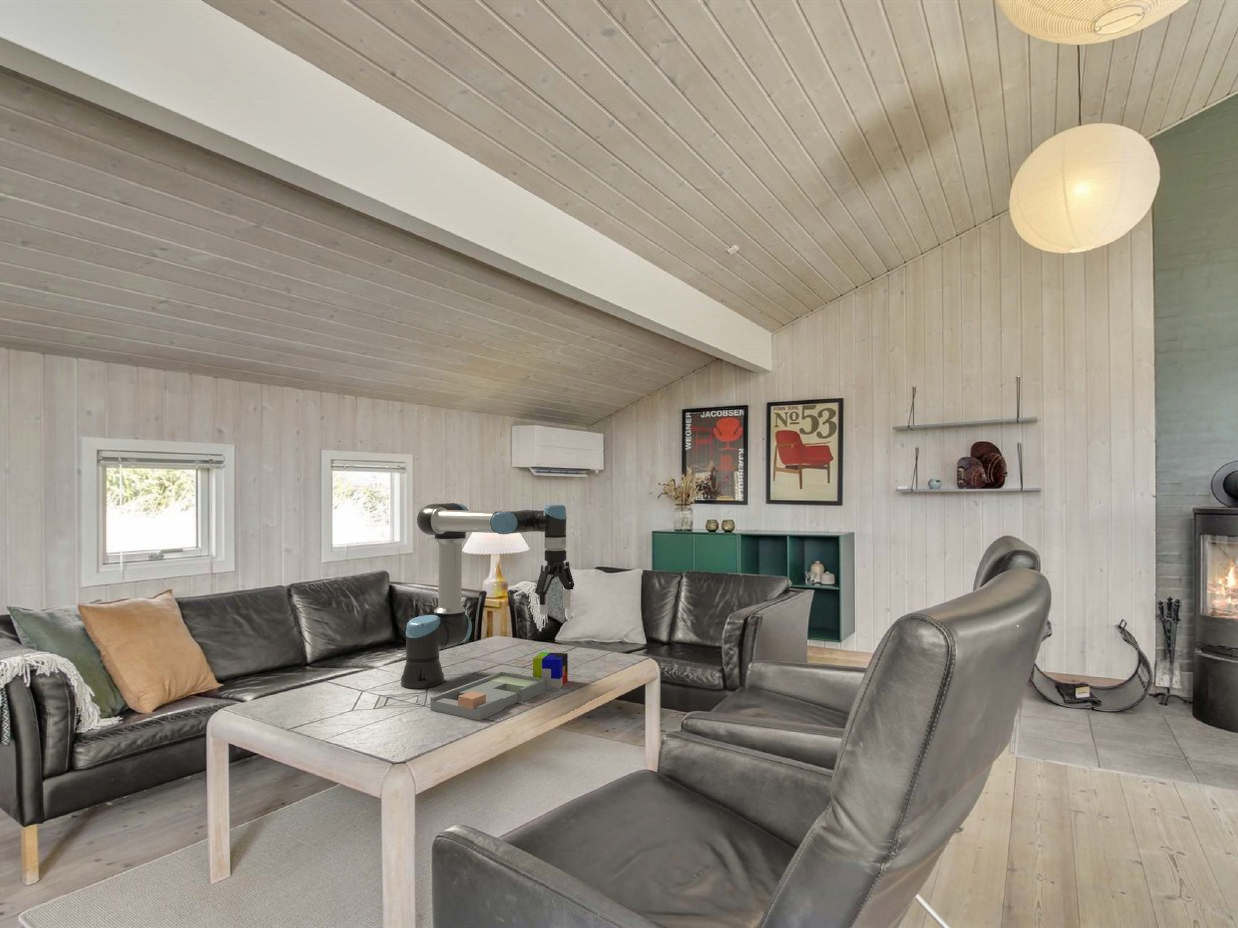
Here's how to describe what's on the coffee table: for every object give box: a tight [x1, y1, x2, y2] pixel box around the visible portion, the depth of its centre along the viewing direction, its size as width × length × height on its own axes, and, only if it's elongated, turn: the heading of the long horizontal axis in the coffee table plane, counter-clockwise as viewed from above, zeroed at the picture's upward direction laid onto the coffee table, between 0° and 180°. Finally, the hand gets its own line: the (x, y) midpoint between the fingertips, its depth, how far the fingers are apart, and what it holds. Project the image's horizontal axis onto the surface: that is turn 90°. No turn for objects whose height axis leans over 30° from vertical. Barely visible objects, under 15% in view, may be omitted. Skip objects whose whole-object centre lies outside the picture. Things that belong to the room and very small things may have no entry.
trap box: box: [429, 671, 548, 721], centre depth 231 cm, size 20×35×4 cm, turn 150°
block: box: [458, 691, 486, 709], centre depth 217 cm, size 6×6×3 cm
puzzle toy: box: [532, 651, 569, 689], centre depth 251 cm, size 10×10×10 cm
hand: (555, 611), depth 240 cm, fingers open, 13 cm apart
